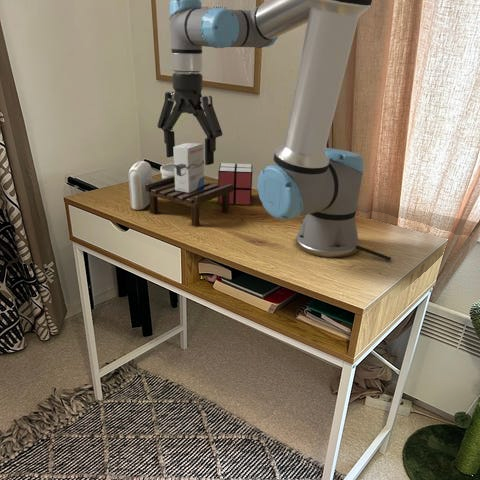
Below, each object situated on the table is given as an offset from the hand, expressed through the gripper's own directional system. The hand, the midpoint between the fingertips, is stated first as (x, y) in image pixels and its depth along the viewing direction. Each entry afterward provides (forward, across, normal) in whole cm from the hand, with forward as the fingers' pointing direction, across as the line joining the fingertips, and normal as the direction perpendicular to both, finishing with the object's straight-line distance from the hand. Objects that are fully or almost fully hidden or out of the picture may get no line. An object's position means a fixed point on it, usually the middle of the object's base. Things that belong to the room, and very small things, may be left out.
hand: (189, 160), depth 131 cm
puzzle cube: (+15, -2, -18) cm, 24 cm away
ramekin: (+15, +18, -16) cm, 28 cm away
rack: (+15, 0, 0) cm, 15 cm away
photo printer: (+15, +16, +4) cm, 22 cm away
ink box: (+8, 0, 0) cm, 8 cm away
